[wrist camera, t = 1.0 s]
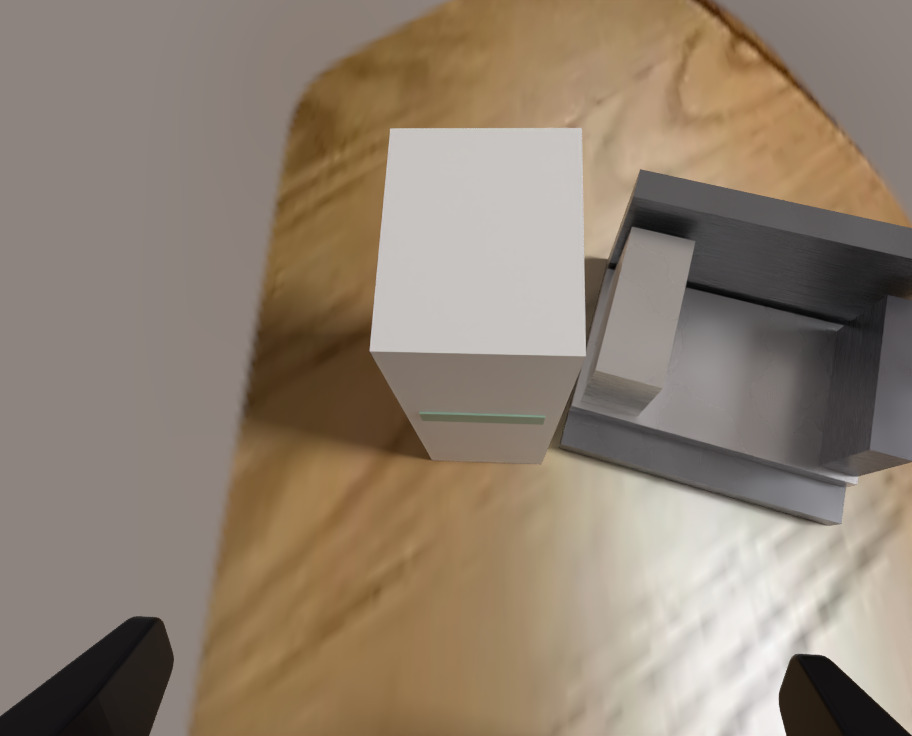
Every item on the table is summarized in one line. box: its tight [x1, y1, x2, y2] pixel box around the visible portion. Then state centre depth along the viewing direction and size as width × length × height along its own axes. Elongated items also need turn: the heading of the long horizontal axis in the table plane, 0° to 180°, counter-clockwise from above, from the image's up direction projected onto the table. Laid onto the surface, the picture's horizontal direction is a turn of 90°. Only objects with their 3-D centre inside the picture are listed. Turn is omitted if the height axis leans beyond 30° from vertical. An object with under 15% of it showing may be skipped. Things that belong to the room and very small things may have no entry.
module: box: [370, 128, 586, 464], centre depth 18 cm, size 5×4×12 cm
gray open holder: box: [559, 169, 912, 526], centre depth 21 cm, size 8×10×6 cm
